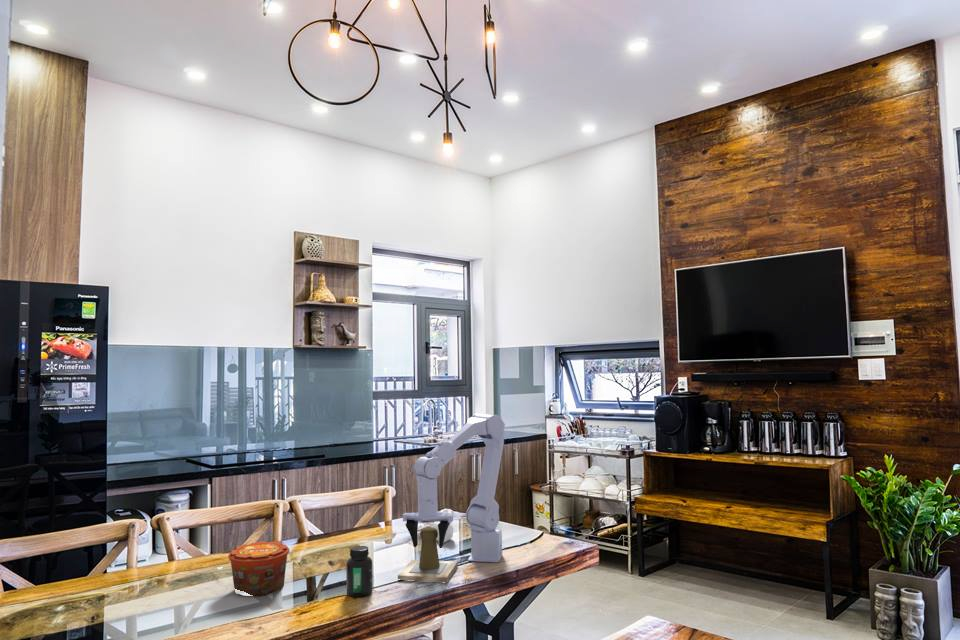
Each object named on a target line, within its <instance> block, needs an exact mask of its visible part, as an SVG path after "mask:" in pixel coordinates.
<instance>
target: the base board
mask: <svg viewBox="0 0 960 640" xmlns="http://www.w3.org/2000/svg"><path fill="white" fill-rule="evenodd" d="M419 563H420V559H411V560H410V561H409V563H407V564H406V566H405V567H404V568H403V569H402V570H401V571H400V572H399V573H398V574H397V580H398V579H400V580H414V581H425V582H424V583H432V582H445V583H444V584H447V583H448V582H447V581H449V580H450V579H451V578H452V576H453V574H454V573H455V572H456V570H457V569H458V567H459V565H458V564H459V561H453V560H452V561H451V560H447V561H446V560H439V564H440V567H439V568H437V569H433V570H424V569H420V568H419ZM457 566H458V567H457ZM456 568H457V569H456ZM451 575H452V576H451ZM449 578H450V579H449Z"/></svg>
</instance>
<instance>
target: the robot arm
mask: <svg viewBox="0 0 960 640" xmlns="http://www.w3.org/2000/svg"><path fill="white" fill-rule="evenodd" d="M505 425H506V424H505V422H504V421H503V419H502V417H501V416H499V415H497V414H486V413H485V414H484V413H479V412H477V413H474V414H473V415H472V416H471V417H469V418H467V421H466V423H465V424H463V426H462V427H461V428H460V429H459V430H458V431H457V432H456V433H455V434H454V435H453V436H452V437H451V438H450V439H449V440H442V441H441V440H440V441H438V442H437V445H436V446H435V447H434V448H432V450H430V451H428V452H426V455H425V456H420V457H418V458H417V459H416V460H415V462H414V465H413V466H412V471H413V473H414V475H415V477H416V479H415V480H416V483H417V489H416V490H417V512H405V513H404V512H403V514H402V522H406V523H405V527H406V529H407V530H408V533H409V535H410V537H411V541H412V546H413V548H417V546H419V545H418V544H419V537H418V536H419V535H418V534H419V533H418V529H419V522H433V523H435V522H440V523H439V524H438V529H439V542H438V547H439V549H442V548H443V547H444V538H445V534H446V531H447V529H448V526H449V524H450V523H451V524H452V523H453V521H454V515H453V514H444V513H440V512H438V510H439V509H438V508H439V507H438V477H439V476H440V474H441V472H442V469H443V468H444V466H445V465H446V464H448V462H450V461H451V460H453V458H454V457H455V456H456V454H457V449H459V448H460V447H462V446H463V445H464V444H465V443H467V442H468V441H470V439H472V438H473V437H475V436H477V437H479V438H480V439H481V440H482V442H483V443H484V444H485V448H484V455H483V460H482V464H481V470H480V471H481V472H480V476H479V481H478V488H477V493H476V495H475V496H474V497H473V498H472V499H470V503H469V506H468V508H467V509H466V512H465V521H466V522H467V524H469V529H470V541H471V542H470V545H471V546H470V548H471V551H470V552H471V554H470V556H469V557H468V559H467V560H468V562H482V563H499V562H500V560H501V558H502V557H503V533H502V529H497V527H498V525H499V523H500V514H499V510H500V505H499V504H498V502H497V501H496V499H495V496H496V490H497V485H498V484H497V483H498V479H499V472H500V467H501V462H502V461H501V460H502V454H503V451H504V445H505V437H504V431H505Z"/></svg>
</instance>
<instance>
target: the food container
mask: <svg viewBox="0 0 960 640" xmlns="http://www.w3.org/2000/svg"><path fill="white" fill-rule="evenodd" d="M289 554H290V548H289V547H288V546H287V544H285V543H284V544H283V543H282V542H279V541H270V542H267V541H255V542H251V543H249V544H242V545H239V546H237V547H236V546H235V548H234V549H233V550H231V551H230V552H229V553H228V555H227V557H228V560H229V561H230V567H231V575H232V581H233V582H232V583H233V589H234V588H235V589H237V590H240V591H244V592H246V593H248V594H250V595H253V596H255V597H256V596H257V597H262V596H268V595H270V594H275V593H277V592H278V591H280V590H282V589H283V587H284V586H285V578H286V568H287V560H288V555H289Z"/></svg>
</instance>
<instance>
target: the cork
mask: <svg viewBox="0 0 960 640" xmlns="http://www.w3.org/2000/svg"><path fill="white" fill-rule="evenodd" d="M419 537H420V539H421V546H420V547H421V548H420V556H419V560H420V563H419V568H420V569H424V570H433V569H437V568H439V567H440V564H439V561H440V557H439V552H438V544H437V541H436V539H437V537H438V531H437V529H436V528H433V526H429V527H428V526H427V527H423V528H421V529H420V532H419Z"/></svg>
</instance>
